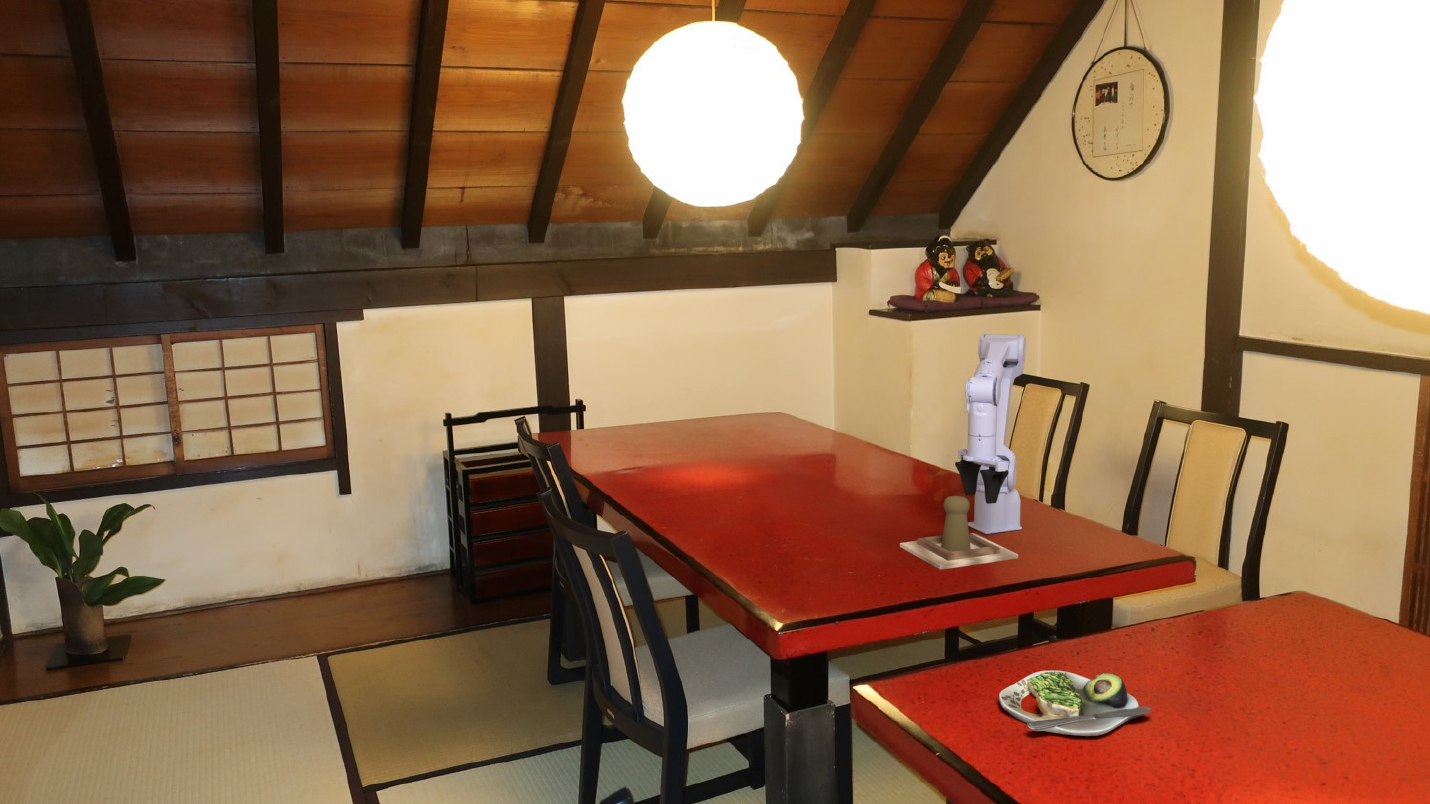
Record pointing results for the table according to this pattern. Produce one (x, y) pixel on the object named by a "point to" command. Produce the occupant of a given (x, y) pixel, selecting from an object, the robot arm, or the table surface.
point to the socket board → (957, 552)
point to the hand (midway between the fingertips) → (980, 499)
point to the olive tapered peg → (956, 524)
